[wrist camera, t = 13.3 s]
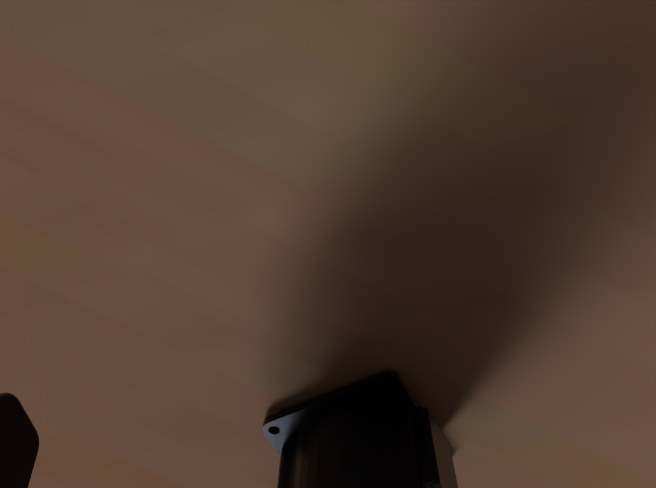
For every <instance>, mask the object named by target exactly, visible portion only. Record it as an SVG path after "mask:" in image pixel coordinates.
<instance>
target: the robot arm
mask: <svg viewBox="0 0 656 488" xmlns="http://www.w3.org/2000/svg"><path fill="white" fill-rule="evenodd" d="M387 382H393V384H391V385H387V384H386V383H387ZM271 426H277V427H276V428H274V427H271ZM263 432H264V434H265V436H266V437H267V438H268V439H269V441H270V442H271V443H272V444H273V446H274V447H275V448H276V450H277V451H278V452H279V453H280V455H281V458H280V467H279V476H278V485H277V488H458V485H457V480H456V475H455V470H454V465H453V460H452V455H451V450H450V446H449V443H448V441H447V440H446V438H445V436H444V435H443V433H442V431H441V430H440V428H439V426H438V425H437V423H436V421H435V420H434V418H433V416H432V415H431V413H430V411H429V410H428V408H426V407H424V406H418V405H417V403H416V401H415V400H414V398H413V396H412V395H411V393H410V391H409V390H408V388H407V387H406V385H405V383H404V382H403V380H402V378H401V377H400V375H399V374H398V373H396V372H394V371H386V372H382V373H380V374H377V375H375V376H372V377H369V378H367V379H364V380H362V381H359V382H356V383H354V384H351V385H348V386H346V387H343V388H341V389H338V390H335V391H333V392H330V393H328V394H325V395H322V396H320V397H317V398H315V399H312V400H309V401H307V402H304V403H302V404H299V405H296V406H294V407H291V408H289V409H286V410H283V411H281V412H278V413H276V414H273V415H270V416H268V417H267V418H266V419H265V420H264V424H263ZM38 448H39V437H38V433H37V431H36V429H35V427H34V425H33V424H32V422H31V420H30V419H29V417H28V415H27V413H26V412H25V410H24V408H23V407H22V405H21V403H20V401H19V400H18V398H17V397H16V396H14V395H13V394H11V393H1V394H0V488H28V485H29V481H30V478H31V474H32V470H33V467H34V463H35V460H36V456H37V453H38Z"/></svg>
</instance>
